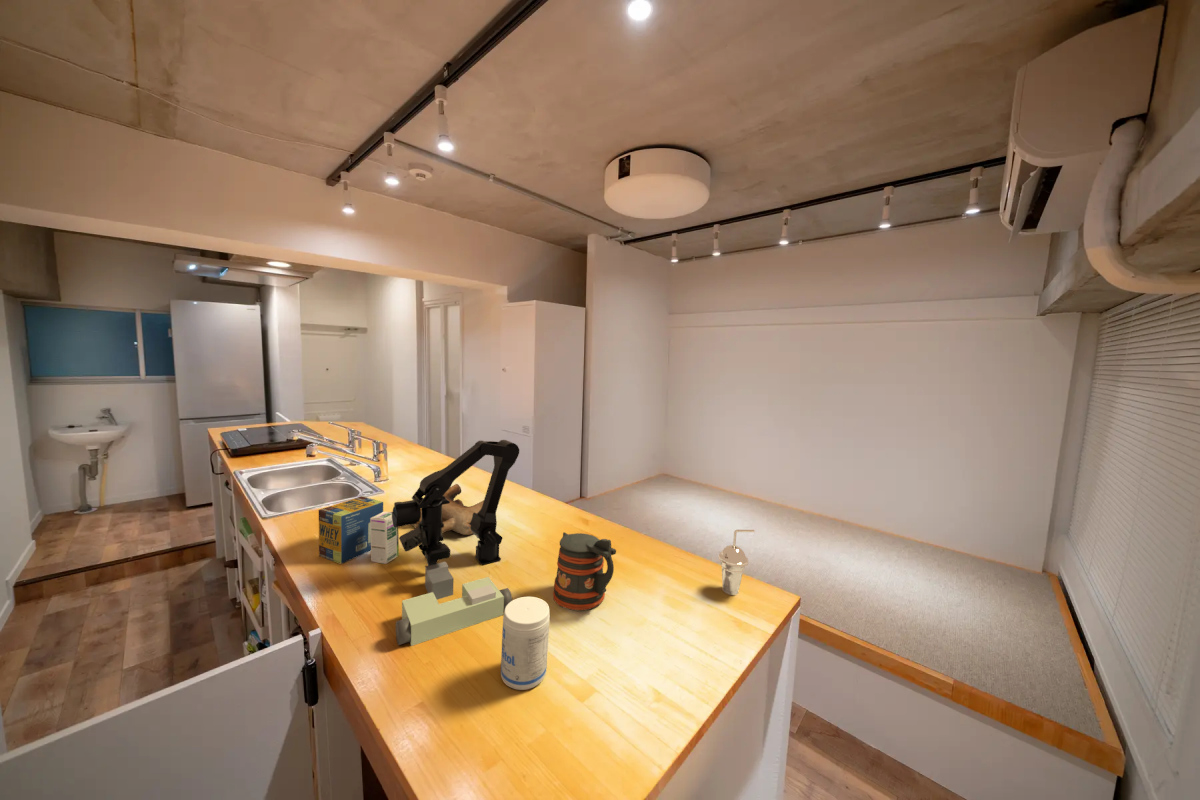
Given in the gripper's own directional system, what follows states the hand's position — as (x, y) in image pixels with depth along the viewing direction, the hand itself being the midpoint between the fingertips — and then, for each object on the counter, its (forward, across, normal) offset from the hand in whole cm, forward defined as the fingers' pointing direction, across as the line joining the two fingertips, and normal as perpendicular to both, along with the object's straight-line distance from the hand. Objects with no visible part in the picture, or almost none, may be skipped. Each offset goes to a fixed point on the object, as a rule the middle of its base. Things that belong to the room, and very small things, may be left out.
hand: (431, 569), depth 122 cm
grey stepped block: (+2, +10, 0) cm, 10 cm away
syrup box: (+2, -17, -10) cm, 20 cm away
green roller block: (+2, +24, 0) cm, 24 cm away
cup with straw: (+2, +53, +73) cm, 90 cm away
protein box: (+2, -28, -18) cm, 33 cm away
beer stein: (+2, +34, +33) cm, 47 cm away
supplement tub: (+2, +50, +7) cm, 51 cm away
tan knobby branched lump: (+2, -32, +14) cm, 35 cm away
